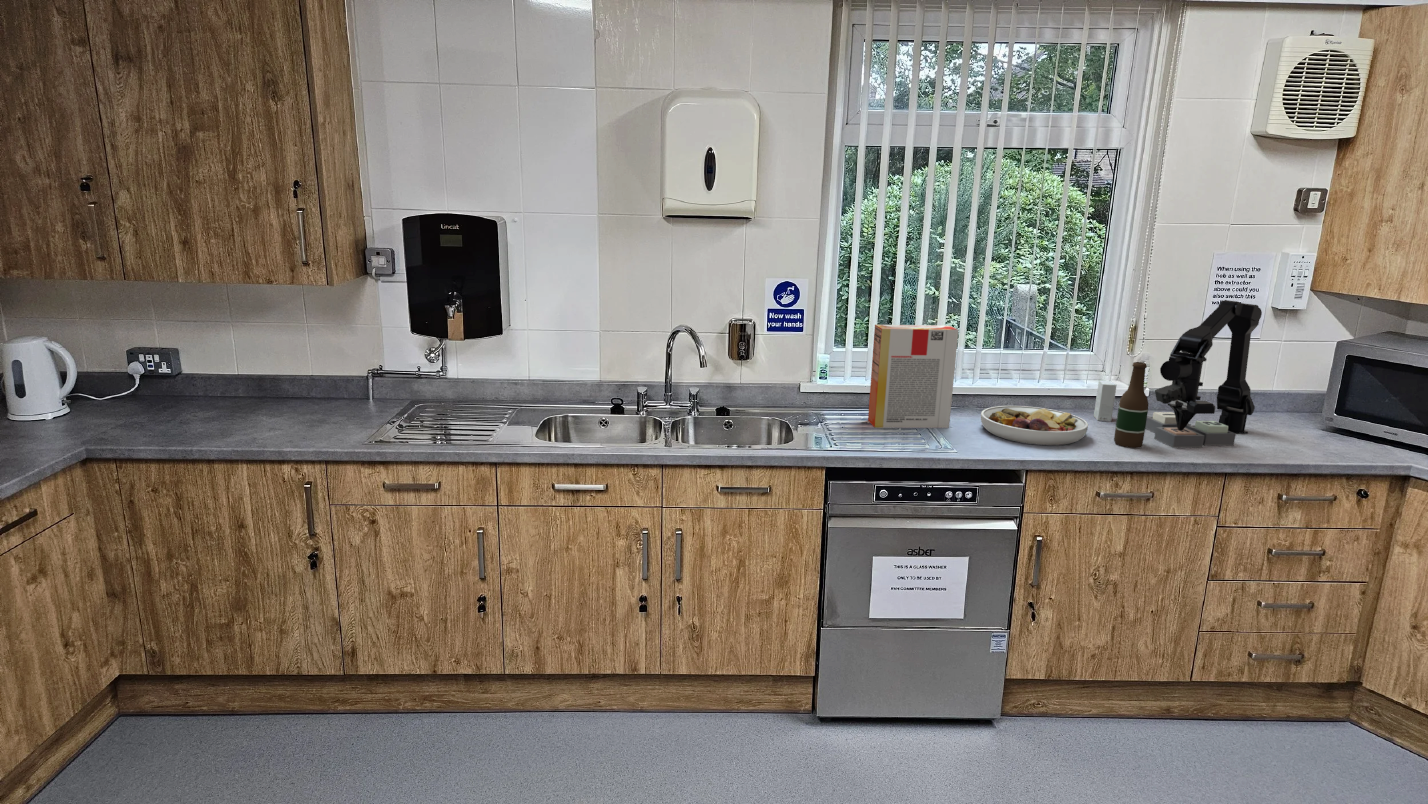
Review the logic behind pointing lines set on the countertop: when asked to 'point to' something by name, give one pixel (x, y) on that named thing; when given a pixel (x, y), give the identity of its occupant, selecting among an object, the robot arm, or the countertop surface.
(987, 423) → the bowl
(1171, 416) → the tile
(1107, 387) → the skincare box
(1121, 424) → the beer bottle
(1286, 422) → the countertop surface
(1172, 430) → the tile
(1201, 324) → the robot arm
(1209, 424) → the tile
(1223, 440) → the tile collars
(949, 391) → the pasta box
